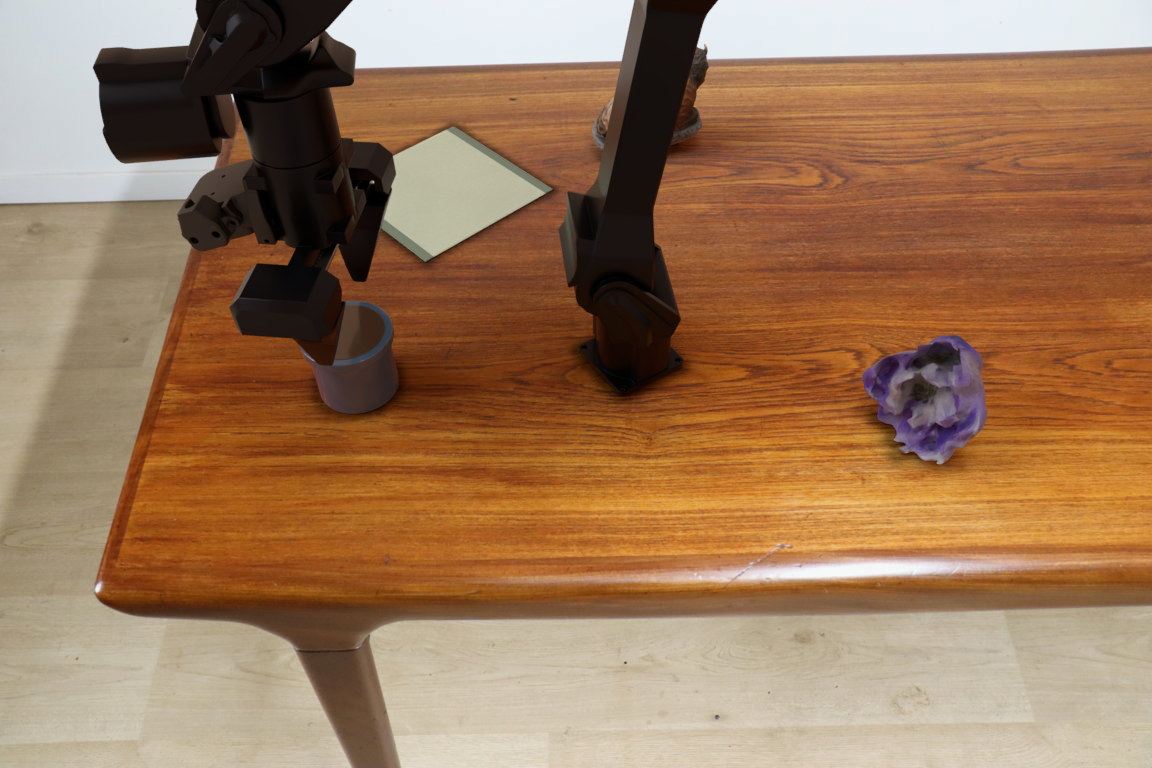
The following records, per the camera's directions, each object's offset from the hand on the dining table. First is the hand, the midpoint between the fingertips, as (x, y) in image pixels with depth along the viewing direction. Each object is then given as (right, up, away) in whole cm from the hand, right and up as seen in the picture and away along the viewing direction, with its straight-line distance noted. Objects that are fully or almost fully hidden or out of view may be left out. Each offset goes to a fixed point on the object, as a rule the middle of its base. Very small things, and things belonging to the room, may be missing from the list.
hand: (343, 320), depth 72 cm
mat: (+4, +15, +23) cm, 28 cm away
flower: (+45, -8, +2) cm, 45 cm away
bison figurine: (+25, +21, +29) cm, 43 cm away
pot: (0, -5, +5) cm, 7 cm away
